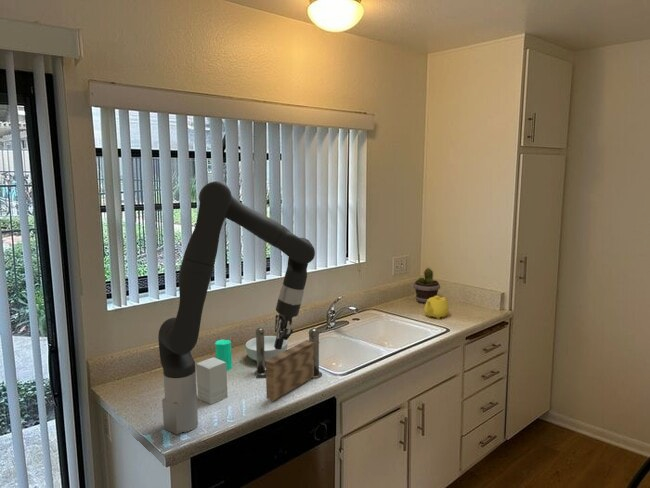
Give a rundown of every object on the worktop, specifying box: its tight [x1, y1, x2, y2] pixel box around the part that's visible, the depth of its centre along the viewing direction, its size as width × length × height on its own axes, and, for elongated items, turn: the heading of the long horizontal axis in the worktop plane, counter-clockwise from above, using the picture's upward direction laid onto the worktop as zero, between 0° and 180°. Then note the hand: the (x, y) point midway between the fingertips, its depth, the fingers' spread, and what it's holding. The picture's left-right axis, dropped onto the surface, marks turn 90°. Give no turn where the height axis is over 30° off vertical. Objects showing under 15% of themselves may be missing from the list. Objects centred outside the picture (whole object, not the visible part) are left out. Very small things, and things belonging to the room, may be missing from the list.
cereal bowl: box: [245, 335, 288, 362], centre depth 204 cm, size 17×17×7 cm
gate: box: [265, 339, 315, 401], centre depth 177 cm, size 23×4×13 cm, turn 146°
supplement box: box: [195, 357, 229, 405], centre depth 171 cm, size 7×7×13 cm
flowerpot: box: [412, 265, 441, 305], centre depth 285 cm, size 14×15×20 cm
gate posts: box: [253, 327, 323, 380], centre depth 188 cm, size 7×26×18 cm, turn 89°
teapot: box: [423, 295, 450, 320], centre depth 259 cm, size 18×11×11 cm, turn 137°
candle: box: [214, 339, 233, 372], centre depth 195 cm, size 6×6×12 cm
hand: (277, 348), depth 166 cm, fingers closed
